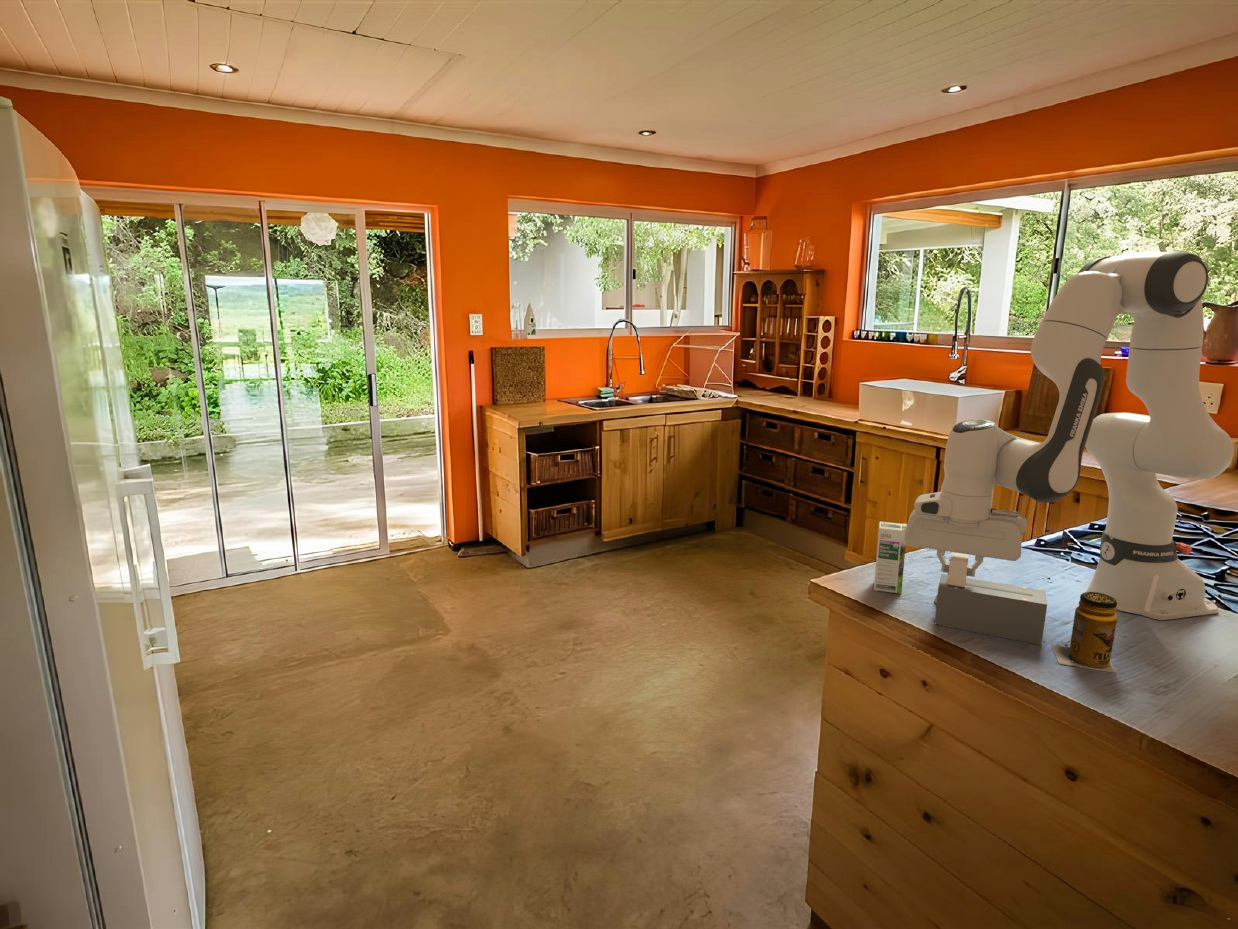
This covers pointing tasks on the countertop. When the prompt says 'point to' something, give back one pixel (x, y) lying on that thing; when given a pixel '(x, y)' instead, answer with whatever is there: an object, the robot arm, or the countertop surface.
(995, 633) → the console
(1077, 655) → the condiment
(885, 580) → the syrup box
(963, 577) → the fader
